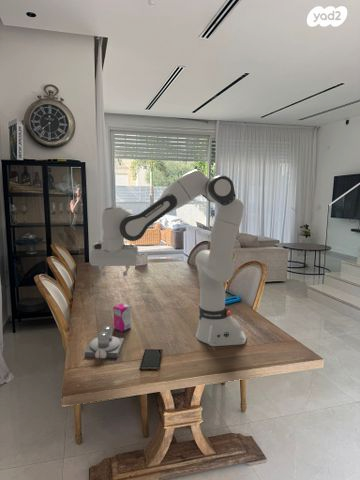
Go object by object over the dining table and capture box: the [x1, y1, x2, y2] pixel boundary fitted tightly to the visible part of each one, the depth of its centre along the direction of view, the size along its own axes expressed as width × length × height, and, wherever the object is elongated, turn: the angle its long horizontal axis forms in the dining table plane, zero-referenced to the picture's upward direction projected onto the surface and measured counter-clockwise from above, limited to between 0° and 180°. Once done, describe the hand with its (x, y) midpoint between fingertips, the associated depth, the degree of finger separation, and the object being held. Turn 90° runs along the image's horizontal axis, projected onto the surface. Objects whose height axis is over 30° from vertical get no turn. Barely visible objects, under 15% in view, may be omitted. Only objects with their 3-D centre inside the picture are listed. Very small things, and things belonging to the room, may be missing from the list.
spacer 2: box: [97, 331, 109, 348], centre depth 132 cm, size 4×4×5 cm
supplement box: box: [112, 302, 132, 333], centre depth 154 cm, size 6×6×12 cm
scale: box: [84, 336, 125, 359], centre depth 135 cm, size 13×14×4 cm
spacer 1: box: [101, 325, 114, 341], centre depth 137 cm, size 4×4×5 cm
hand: (114, 275), depth 142 cm, fingers open, 8 cm apart
